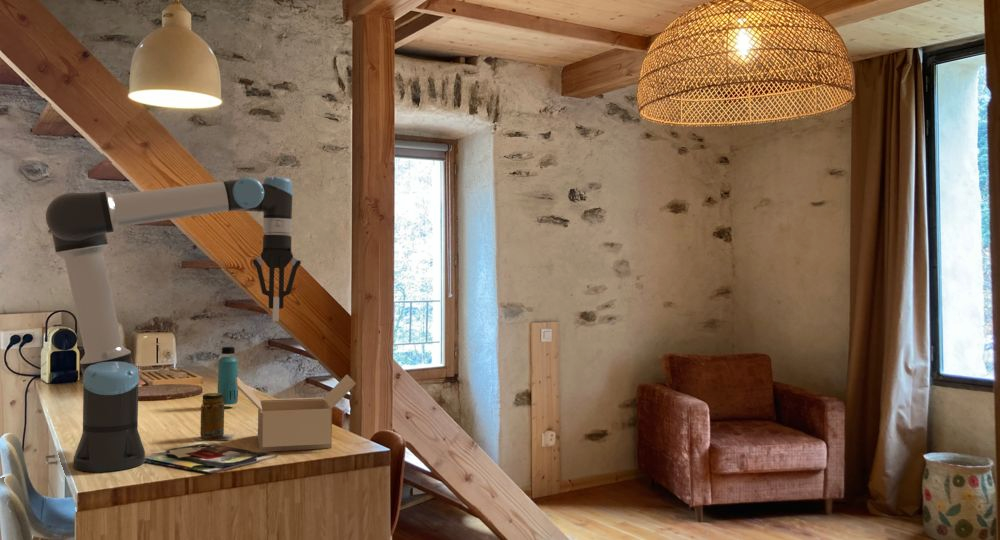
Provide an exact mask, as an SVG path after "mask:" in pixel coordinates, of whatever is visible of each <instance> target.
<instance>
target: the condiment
mask: <svg viewBox="0 0 1000 540" xmlns="http://www.w3.org/2000/svg"><path fill="white" fill-rule="evenodd" d="M201 401H202V402H201V403H202V404H201V405H200V428H199V429H200V432H199V433H200V437H198V438H196V439H195V441H202V442H203V441H228V440H230V439H231V438H233V436H234V434H233V433H232V434H228V433H227V434H224V433H225V432H224V431H225V429H224V428H225V405H224V404H223V394H220V393H218V392H210V393H204V394H203V395H202V400H201Z"/></svg>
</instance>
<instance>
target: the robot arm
mask: <svg viewBox="0 0 1000 540" xmlns="http://www.w3.org/2000/svg"><path fill="white" fill-rule="evenodd" d="M293 197H294V195H293V182H292V180H291V179H290V178H288V177H287V178H286V177H277V176H276V177H275V176H268V177H265V178H264V180H263V183H261V182H260V181H259V180H258V179H256V178H254V177H250V176H249V177H248V176H247V177H246V176H245V177H241V178H239V179H232V180H225V181H214V182H207V183H200V184H191V185H183V186H174V187H168V188H167V187H166V188H158V189H151V190H143V191H142V190H141V191H134V192H127V193H118V194H112V193H110V192H108V191H107V190H106V191H98V192H67V193H63V194H61V195H58V196H57V197H55V198H54V199H52V200H51V202H50V203H49V204H48V206H47V209H46V210H45V211H46V212H45V222H46V225H47V227H48V229H49V230H50V232H51V237H52V242H53V246H54V249H55V253H56V255H57V256H59V257H61V258H62V259H63V260H64V263H65V267H66V271H67V276H68V281H69V285H70V291H71V295H72V299H73V304H74V310H75V313H76V318H77V324H78V328H79V332H80V337H81V341H82V345H83V346H82V347H83V350H84V355H83V356H82V358H81V359H80V361H79V365H80V369H81V374H82V385H83V386H82V387H83V392H82V394H83V396H82V397H83V398H82V433H81V437H80V440H79V442H78V444H77V447H76V450H75V454H74V455H73V463H72V464H73V469H75V470H77V471H80V472H81V471H82V472H91V473H101V472H102V473H104V472H115V471H121V470H129V469H132V468H136V467H138V466H141V465H143V464H144V463H145V462H146V451H145V448H144V444H143V441H142V439H141V436H140V433H139V428H138V426H139V425H138V423H139V422H138V421H139V420H138V419H139V418H138V417H139V383H140V374H139V368H138V367H137V366H136V365H135V364H134V361H133V357H132V352H131V350H130V349H128V348H126V347H125V346H123V341H122V336H121V332H120V328H119V323H118V322H119V321H118V317H117V313H116V309H115V307H116V306H115V303H114V299H113V294H112V289H111V285H110V279H109V275H108V270H107V266H106V261H105V256H104V252H105V251H106V250H107V248H108V246H109V242H108V238H107V233H113V232H116V231H117V230H118V228H120V227H126V226H135V225H139V224H140V225H141V224H147V223H155V222H160V221H168V220H176V219H182V218H188V217H189V218H191V217H195V216H196V217H197V216H202V215H203V216H204V215H209V214H210V215H211V214H216V213H217V214H218V213H226V212H233V211H235V212H258V213H260V212H263V219H262V222H263V223H262V225H263V226H262V232H263V233H264V234H263V236H262V251H261V253H260V256H258V257H257V258H254V259H253V260H252V264H253V265H254V268H256V272H257V277H258V281H259V285H260V290H261V293H262V295H265V296H267V297H268V309H272V322H279V321H280V310H282V309H283V308H284V298H285V296H289V295H291V291H292V289H293V285H294V281H295V277H296V274H297V270H298V268H299V267H300V265H301V263H302V261H301V260H298V259H297V258H295V257H294V255H293V252H292V236H291V234H292V233H293V231H292V230H293V229H292V227H293V226H292V225H293V224H292V223H293V222H292V221H293V216H292V215H293ZM262 261H263V262H264V263H265V265H266V266H267V268H268V276H269V277H268V290H267V287H266V283H265V278H264V274H263V273H264V272H263V269H262V265H263V262H262ZM290 262H291V266H292V267H291V269H290V274H289V278H288V280H287V284H286V287H285V284H284V283H285V268H286V267H287V266H288V265H289V263H290ZM275 269H278V296H275V294H274V293H275Z"/></svg>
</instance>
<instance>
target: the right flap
mask: <svg viewBox="0 0 1000 540" xmlns="http://www.w3.org/2000/svg"><path fill="white" fill-rule="evenodd" d="M356 384H357V383H356V382H355V381H354V380H353V378H351V377H350V376H349V374H346V375H344V377H343V378H341V380H340V381H339V382H338V383H336V385H335V386H334V387H333V388H331V389H330V391H329V392H327V394H326V395H325V396H324V397H323V400H324V399H325V400H326V402H327V403H328V405H329V406H330V408H331V409H332V410H333V408H334V407H335V406H336V405H337V404H338V403H339V402H340V401H341V400H342V399H343V398H344V397H345V396H346V395H347V394H348V393H349V392H350V391H351V389H353V387H354V386H356Z"/></svg>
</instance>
